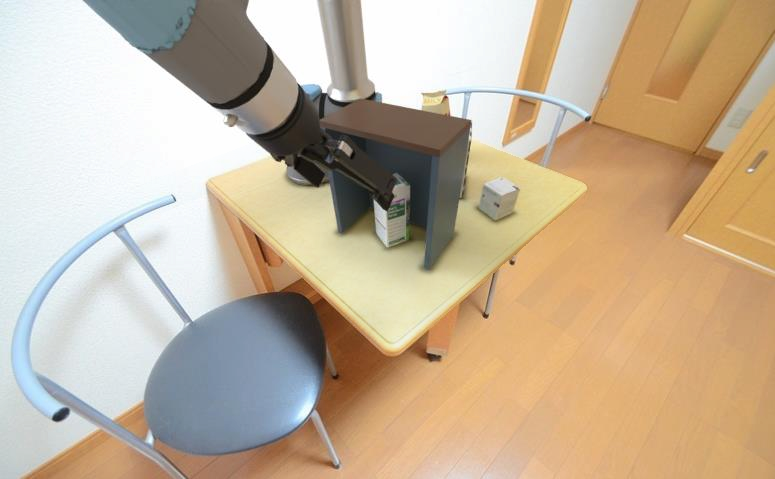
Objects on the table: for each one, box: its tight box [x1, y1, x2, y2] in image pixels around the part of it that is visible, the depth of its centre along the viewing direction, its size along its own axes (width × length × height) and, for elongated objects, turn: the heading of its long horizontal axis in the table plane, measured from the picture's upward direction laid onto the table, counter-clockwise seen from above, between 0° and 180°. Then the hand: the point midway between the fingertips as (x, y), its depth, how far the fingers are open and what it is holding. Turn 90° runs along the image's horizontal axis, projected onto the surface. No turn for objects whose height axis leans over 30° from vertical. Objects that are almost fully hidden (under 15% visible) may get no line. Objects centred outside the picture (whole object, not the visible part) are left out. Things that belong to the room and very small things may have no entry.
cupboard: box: [319, 99, 472, 271], centre depth 64 cm, size 23×13×26 cm, turn 58°
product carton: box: [478, 176, 522, 221], centre depth 75 cm, size 6×6×7 cm
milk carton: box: [420, 89, 452, 116], centre depth 93 cm, size 9×9×20 cm
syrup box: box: [373, 173, 411, 248], centre depth 67 cm, size 6×6×14 cm
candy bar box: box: [459, 119, 473, 199], centre depth 81 cm, size 11×5×16 cm, turn 168°
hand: (353, 191), depth 51 cm, fingers open, 13 cm apart
